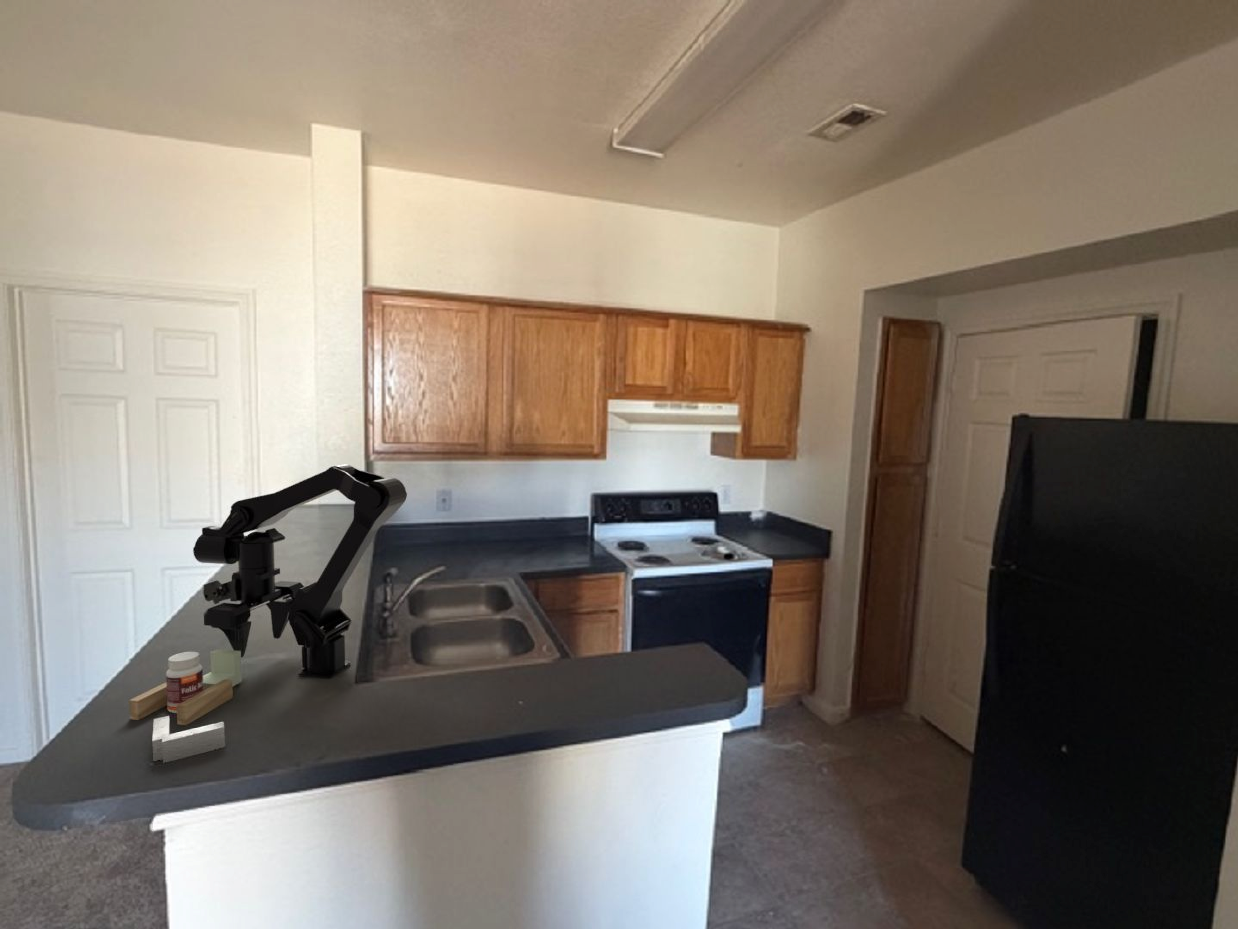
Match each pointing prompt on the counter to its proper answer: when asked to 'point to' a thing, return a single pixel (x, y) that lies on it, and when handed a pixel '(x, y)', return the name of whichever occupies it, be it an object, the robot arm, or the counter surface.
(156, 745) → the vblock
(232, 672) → the block
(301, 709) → the counter surface
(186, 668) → the pill bottle
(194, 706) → the channel
